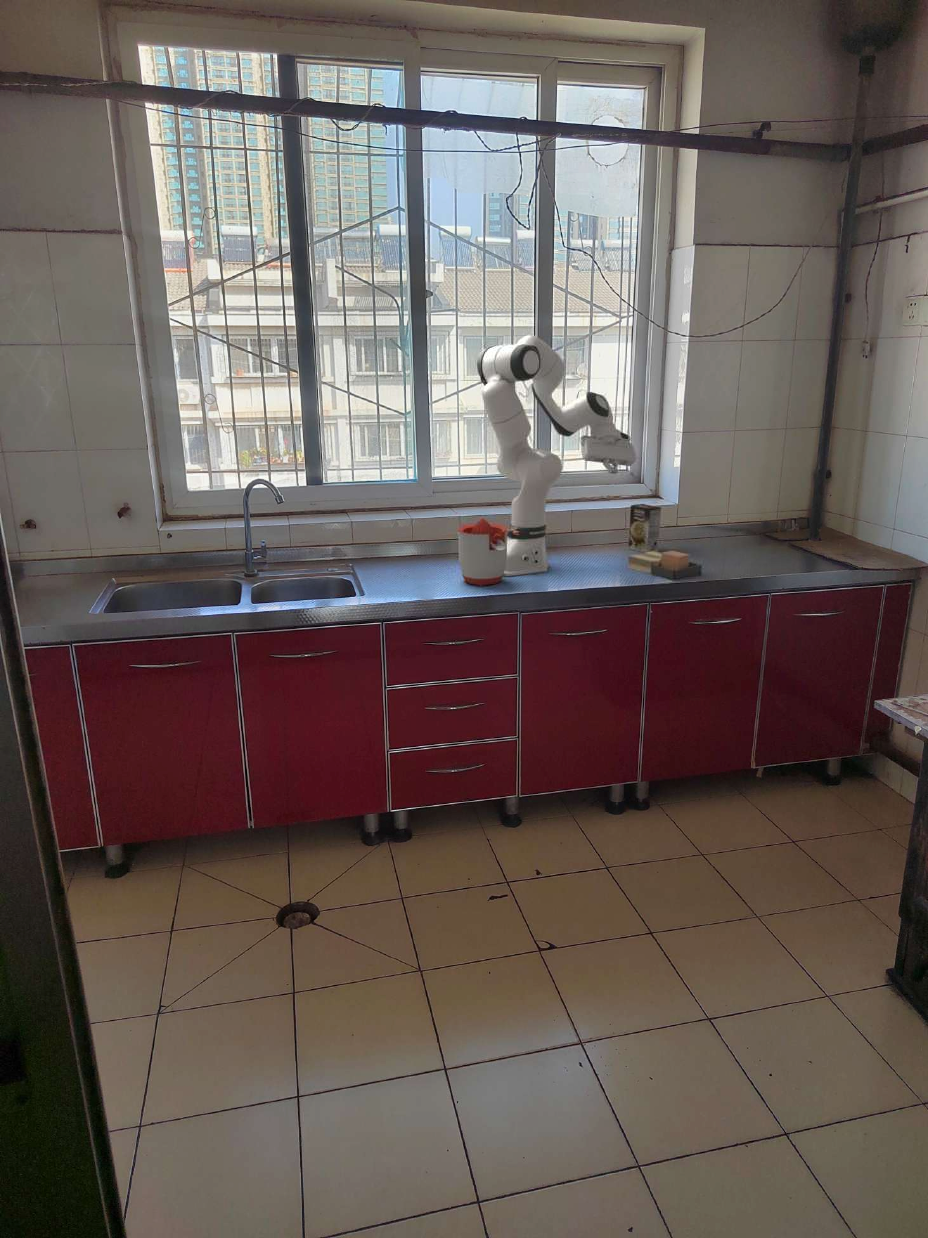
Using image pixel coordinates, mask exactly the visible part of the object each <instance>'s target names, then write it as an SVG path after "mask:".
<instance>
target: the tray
mask: <svg viewBox="0 0 928 1238" xmlns="http://www.w3.org/2000/svg"><path fill="white" fill-rule="evenodd" d="M702 566H703V565H702V564H700V563H696V562H691V561H689V567H687V568H683V569H678V570H670V569H666V568H662V567H658V566H655V565H651V574H652V575H651V574H650V575H651V576H654V575H655V576H654V577H658V576H659V577H660V578H662V579H665V578H666V579H665V580H670V581H673V580H674V581H678V580H682V579H681V578H683V579H686V577H687V578H691V577H695V575H696V576H699V574H700V575H702ZM690 576H691V577H690Z"/></svg>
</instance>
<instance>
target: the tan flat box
mask: <svg viewBox="0 0 928 1238" xmlns="http://www.w3.org/2000/svg"><path fill="white" fill-rule="evenodd" d="M662 553H663V552H659V551H652V552H647V553H643V552H641V553H637V554H632V555H628V564H627V569H631V570H634V569H635V570H634V571H638V572H641V571H642V573H646V574H648V575H651V565H655V566H658V567H661V557H662Z"/></svg>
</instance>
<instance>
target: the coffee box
mask: <svg viewBox="0 0 928 1238" xmlns="http://www.w3.org/2000/svg"><path fill="white" fill-rule="evenodd" d="M661 511H662V507H661V506H655V505H650V504H644V503H640V504H639V503H638V504H632V505H630V513H629V533H628V550H632V551H635V552H640V553H643V552H644V553H647V552H652V551H656V552H659V543H660V542H659V540H660V529H661V528H660V527H661V515H662V513H661Z"/></svg>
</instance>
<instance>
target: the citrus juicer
mask: <svg viewBox="0 0 928 1238" xmlns="http://www.w3.org/2000/svg"><path fill="white" fill-rule="evenodd" d="M508 529H509V527H507V526H506V525H502V524H497V523H489V522H488V521H487V520H486V519H485V518H481V519H479V520H478V522H476V523H470V524H469V523H468V524H464V525H460V526H459V527H457V533H458V534H457V535H458V537H457V538H458V563H459V568H460V571H461V575H462V578H463V580H464V581H465V583H467V584H471V585H477V586H479V585H483V586H485V585H486V586H487V585H488V586H489V585H494V584H497V583H500V582H502V580H503V577H504V576H503V575H504V571H505V567H506V561H507V530H508Z"/></svg>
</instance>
